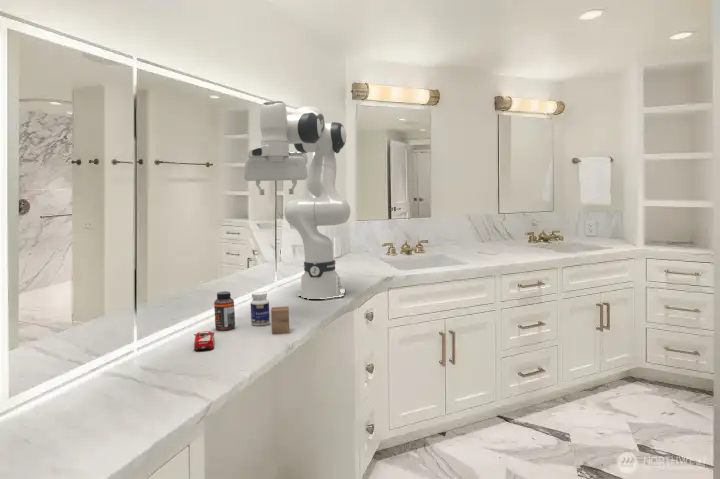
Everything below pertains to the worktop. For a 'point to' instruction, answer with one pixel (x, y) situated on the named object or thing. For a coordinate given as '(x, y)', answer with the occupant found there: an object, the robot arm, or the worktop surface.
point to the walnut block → (280, 320)
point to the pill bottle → (259, 309)
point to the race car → (204, 340)
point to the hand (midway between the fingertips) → (276, 194)
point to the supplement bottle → (224, 311)
